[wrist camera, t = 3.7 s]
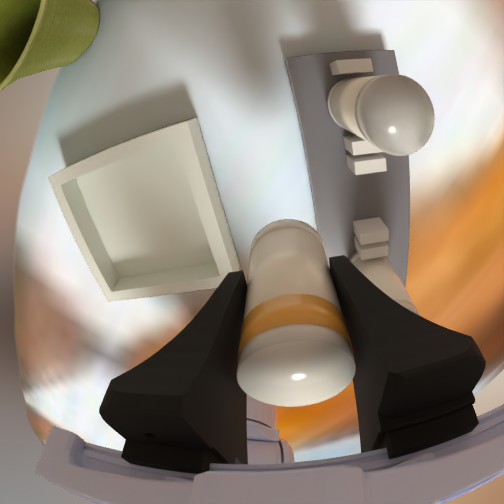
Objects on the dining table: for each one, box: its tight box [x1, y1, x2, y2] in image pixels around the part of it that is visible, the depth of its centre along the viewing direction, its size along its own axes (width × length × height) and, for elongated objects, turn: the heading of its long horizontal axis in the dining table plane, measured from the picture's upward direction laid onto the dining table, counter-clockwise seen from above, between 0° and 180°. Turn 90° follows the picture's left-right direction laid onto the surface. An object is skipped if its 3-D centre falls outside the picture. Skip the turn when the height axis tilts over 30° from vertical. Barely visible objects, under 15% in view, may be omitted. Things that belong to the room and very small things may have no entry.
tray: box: [48, 118, 240, 302], centre depth 21 cm, size 12×12×3 cm
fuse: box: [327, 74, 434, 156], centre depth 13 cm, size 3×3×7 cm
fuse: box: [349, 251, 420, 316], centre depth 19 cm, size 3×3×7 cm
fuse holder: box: [285, 50, 410, 287], centre depth 18 cm, size 19×7×4 cm, turn 13°
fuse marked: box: [237, 219, 356, 406], centre depth 11 cm, size 4×4×7 cm
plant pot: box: [0, 0, 99, 91], centre depth 10 cm, size 9×9×9 cm
